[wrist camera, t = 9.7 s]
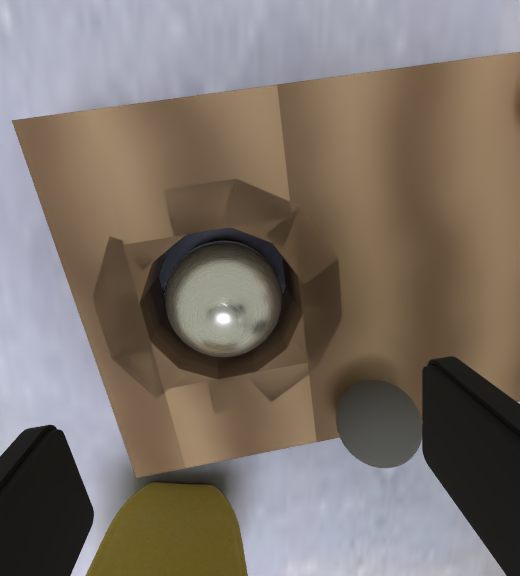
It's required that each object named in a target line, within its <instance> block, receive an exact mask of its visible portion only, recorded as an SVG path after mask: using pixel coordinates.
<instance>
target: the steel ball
mask: <svg viewBox="0 0 520 576" xmlns="http://www.w3.org/2000/svg"><path fill="white" fill-rule="evenodd" d="M165 307H166V313H167V316H168V319H169V322H170V324H171V326H172V328H173V330H174V331H175V333H176V334H177V335H178V336H179V338H180V339H181V340H182V341H183V342H184V343H186V344H187V345H188V346H190V347H191V348H192V349H194V350H196V351H198V352H200V353H203V354H205V355H209V356H213V357H233V356H238V355H241V354H244V353H247V352H249V351H251V350H253V349H254V348H256V347H257V346H259V345H260V344H261V343H262V342H264V341H265V340H266V338H267V337H268V336H269V335H270V334H271V332H272V331H273V329H274V328H275V326H276V324H277V322H278V319H279V316H280V312H281V307H282V291H281V286H280V282H279V279H278V276H277V274H276V272H275V270H274V268H273V267H272V266H271V264H270V263H269V262H268V261H267V260H266V258H265V257H264V256H262V255H261V254H260V253H259V252H258V251H256V250H254V249H253V248H251V247H249V246H247V245H244V244H241V243H238V242H232V241H214V242H210V243H206V244H203V245H201V246H199V247H197V248H195V249H193V250H192V251H190V252H189V253H187V254H186V255H185V256H184V257H183V258H182V259H181V260H180V261H179V262H178V263H177V265H176V266H175V267H174V269H173V271H172V272H171V275H170V277H169V280H168V282H167V286H166V292H165Z"/></svg>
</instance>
